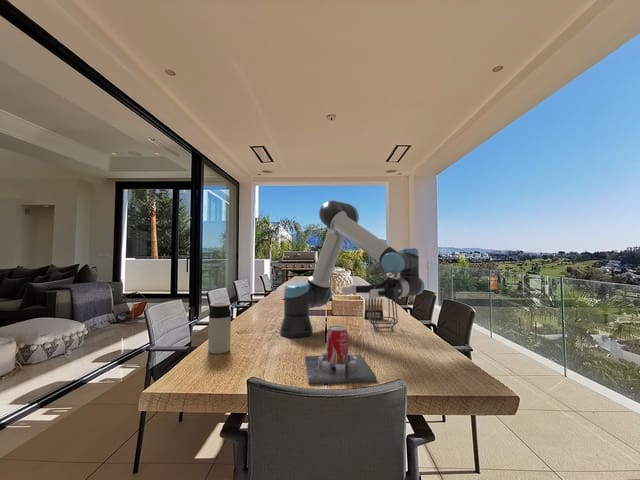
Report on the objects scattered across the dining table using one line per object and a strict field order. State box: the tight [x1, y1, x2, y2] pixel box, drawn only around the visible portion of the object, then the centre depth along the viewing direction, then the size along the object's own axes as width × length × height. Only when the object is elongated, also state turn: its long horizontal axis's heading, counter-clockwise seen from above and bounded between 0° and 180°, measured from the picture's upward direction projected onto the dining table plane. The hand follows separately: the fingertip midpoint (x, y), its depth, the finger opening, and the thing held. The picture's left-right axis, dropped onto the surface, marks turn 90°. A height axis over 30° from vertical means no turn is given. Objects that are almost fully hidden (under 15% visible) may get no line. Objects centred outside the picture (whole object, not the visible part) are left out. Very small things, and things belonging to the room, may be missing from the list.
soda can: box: [325, 325, 349, 368], centre depth 102 cm, size 7×7×12 cm
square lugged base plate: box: [304, 352, 377, 385], centre depth 102 cm, size 20×20×4 cm
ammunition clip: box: [363, 297, 384, 320], centre depth 182 cm, size 11×2×12 cm, turn 92°
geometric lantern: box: [363, 260, 399, 332], centre depth 158 cm, size 16×16×35 cm
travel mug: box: [207, 301, 232, 355], centre depth 121 cm, size 8×8×18 cm
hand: (355, 292), depth 110 cm, fingers open, 13 cm apart
